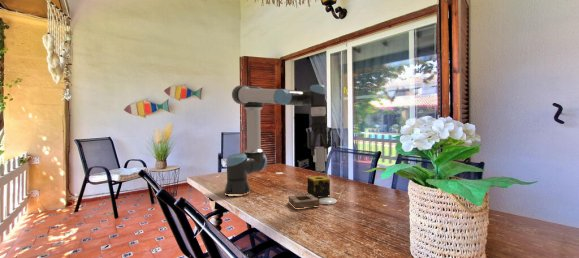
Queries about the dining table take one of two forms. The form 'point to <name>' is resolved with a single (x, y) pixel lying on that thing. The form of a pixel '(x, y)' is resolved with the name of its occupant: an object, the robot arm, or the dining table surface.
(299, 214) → the dining table surface
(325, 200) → the white round domed part
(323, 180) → the candle
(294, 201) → the socket block
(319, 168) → the beverage can
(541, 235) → the dining table surface
